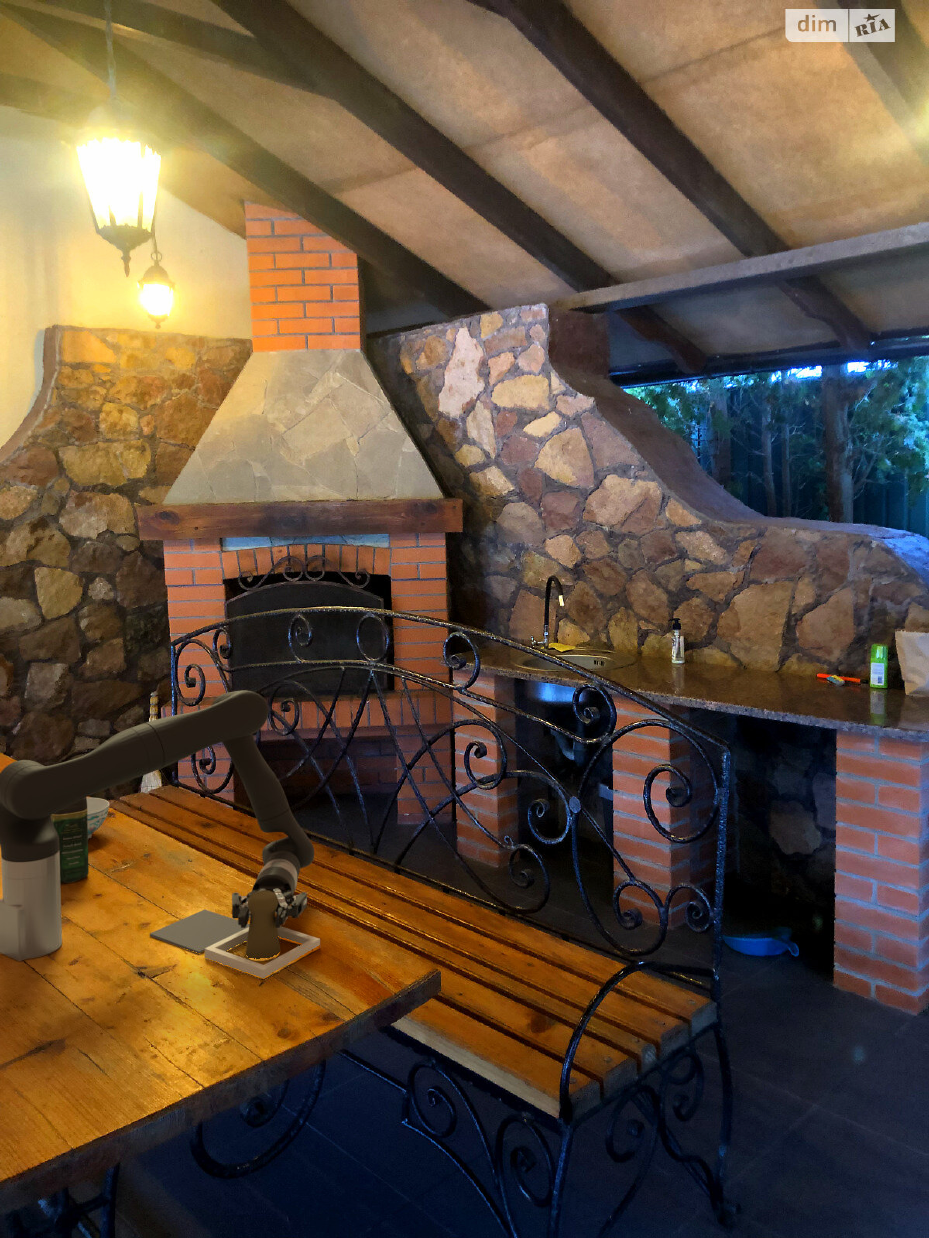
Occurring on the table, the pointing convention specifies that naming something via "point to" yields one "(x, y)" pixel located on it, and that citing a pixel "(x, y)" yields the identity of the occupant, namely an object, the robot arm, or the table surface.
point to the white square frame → (220, 955)
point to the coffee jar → (72, 841)
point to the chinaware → (96, 813)
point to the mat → (198, 931)
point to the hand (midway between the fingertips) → (260, 922)
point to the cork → (262, 925)
